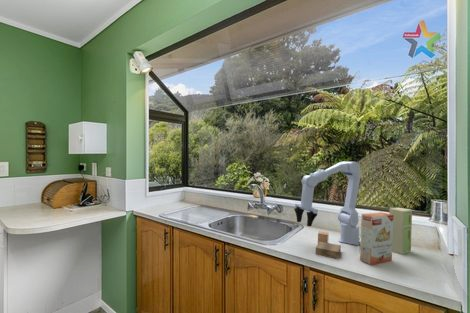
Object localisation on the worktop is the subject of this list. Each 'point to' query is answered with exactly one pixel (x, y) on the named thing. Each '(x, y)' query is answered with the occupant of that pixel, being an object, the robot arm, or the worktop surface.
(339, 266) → the worktop surface
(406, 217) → the toy refrigerator
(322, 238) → the tan block
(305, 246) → the worktop surface
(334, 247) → the walnut block
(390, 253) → the cracker box
